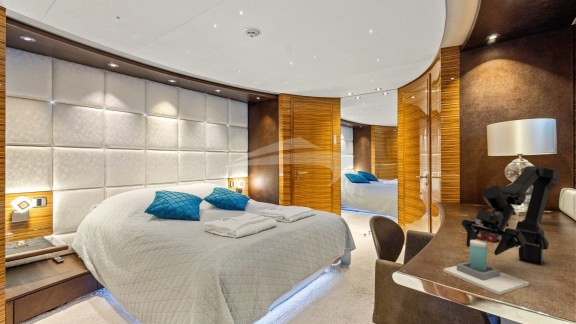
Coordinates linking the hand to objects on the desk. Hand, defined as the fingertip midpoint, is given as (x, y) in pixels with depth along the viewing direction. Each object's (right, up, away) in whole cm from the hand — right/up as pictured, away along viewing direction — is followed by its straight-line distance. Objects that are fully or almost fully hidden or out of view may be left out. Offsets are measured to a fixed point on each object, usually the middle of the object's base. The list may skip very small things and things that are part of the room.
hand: (480, 250), depth 93 cm
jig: (-1, -9, -2) cm, 9 cm away
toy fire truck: (+34, -9, +41) cm, 54 cm away
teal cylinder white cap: (-1, -8, -1) cm, 8 cm away
